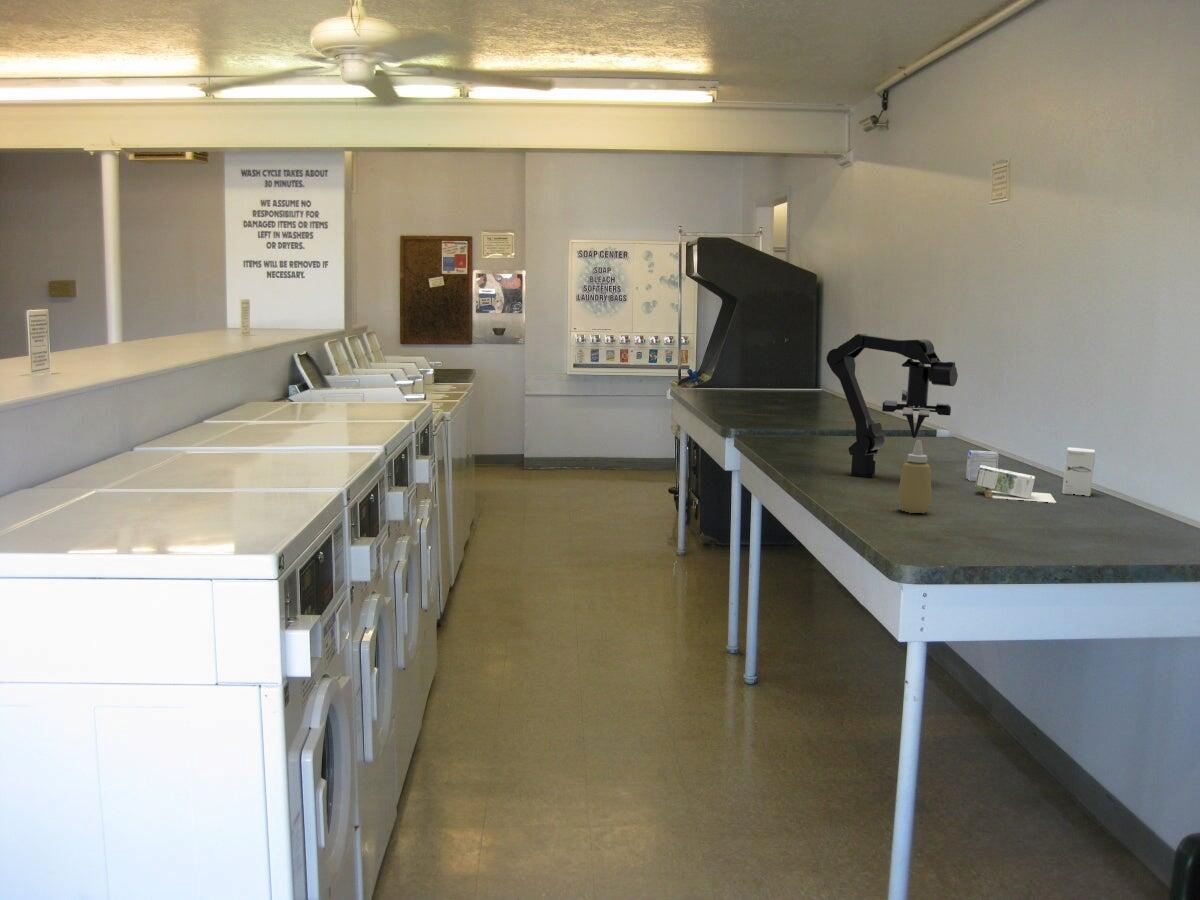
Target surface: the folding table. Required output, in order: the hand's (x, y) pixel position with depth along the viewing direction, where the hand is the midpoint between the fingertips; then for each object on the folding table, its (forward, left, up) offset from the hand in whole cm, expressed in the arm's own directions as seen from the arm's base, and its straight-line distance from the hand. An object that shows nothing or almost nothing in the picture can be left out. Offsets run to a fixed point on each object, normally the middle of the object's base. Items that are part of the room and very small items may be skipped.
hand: (914, 437), depth 311 cm
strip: (+20, -9, -13) cm, 26 cm away
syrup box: (+17, -10, -8) cm, 21 cm away
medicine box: (+20, +14, -13) cm, 28 cm away
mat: (+29, -9, -13) cm, 33 cm away
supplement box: (+45, +4, -13) cm, 47 cm away
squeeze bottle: (+1, -46, -13) cm, 48 cm away
